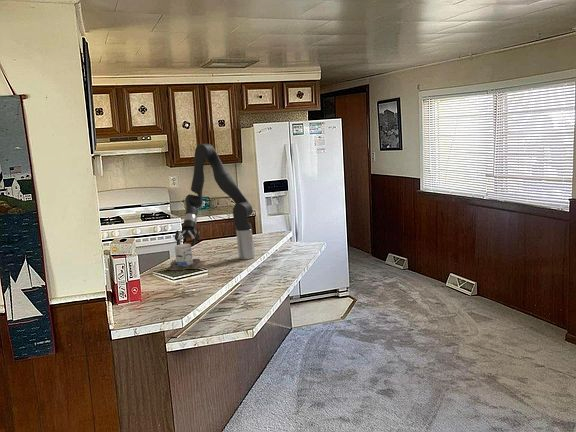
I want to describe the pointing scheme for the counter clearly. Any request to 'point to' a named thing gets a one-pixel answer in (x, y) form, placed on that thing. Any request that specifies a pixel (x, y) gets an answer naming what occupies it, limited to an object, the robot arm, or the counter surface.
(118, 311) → the counter surface
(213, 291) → the counter surface
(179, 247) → the ink box
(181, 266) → the dock
